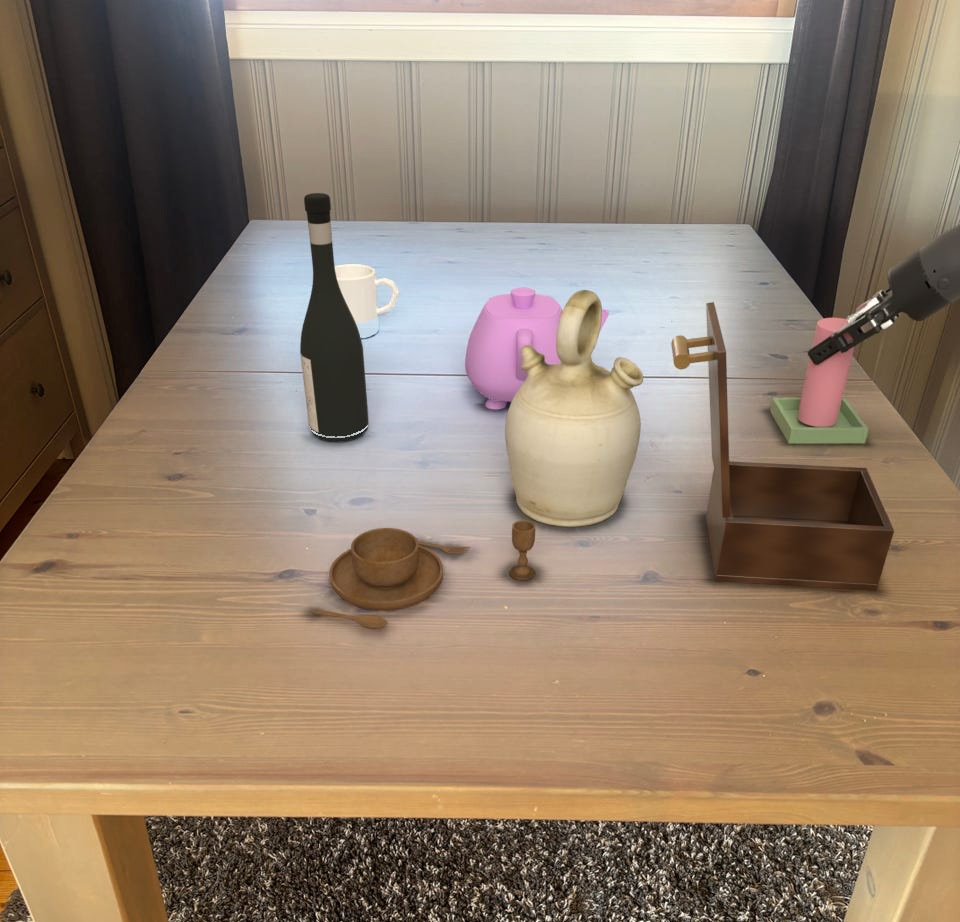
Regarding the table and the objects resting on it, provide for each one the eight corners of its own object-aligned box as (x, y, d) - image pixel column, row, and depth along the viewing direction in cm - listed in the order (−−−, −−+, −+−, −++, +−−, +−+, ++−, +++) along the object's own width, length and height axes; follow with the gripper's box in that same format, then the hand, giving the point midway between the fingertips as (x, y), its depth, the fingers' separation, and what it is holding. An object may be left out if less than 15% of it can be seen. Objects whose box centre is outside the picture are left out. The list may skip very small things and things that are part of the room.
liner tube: (814, 430, 130) (835, 334, 122) (789, 414, 133) (808, 320, 126) (845, 423, 131) (868, 328, 123) (819, 408, 135) (840, 315, 127)
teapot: (611, 428, 133) (620, 318, 124) (464, 428, 133) (463, 319, 124) (596, 372, 149) (603, 271, 139) (465, 372, 148) (464, 271, 139)
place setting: (374, 532, 111) (371, 486, 107) (540, 567, 105) (542, 519, 102) (297, 615, 98) (290, 566, 94) (481, 660, 92) (481, 610, 89)
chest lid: (714, 301, 99) (668, 308, 100) (726, 350, 88) (674, 357, 89) (719, 456, 109) (677, 460, 110) (730, 517, 98) (684, 521, 99)
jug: (658, 502, 116) (685, 291, 101) (573, 550, 108) (588, 327, 93) (563, 460, 125) (574, 260, 110) (477, 501, 117) (476, 290, 101)
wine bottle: (302, 442, 129) (272, 202, 111) (319, 417, 136) (294, 186, 117) (361, 447, 128) (340, 204, 110) (375, 421, 135) (358, 188, 116)
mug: (396, 342, 159) (393, 281, 153) (325, 338, 160) (319, 277, 154) (406, 325, 165) (403, 265, 159) (337, 322, 166) (332, 262, 160)
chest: (851, 524, 112) (866, 467, 108) (876, 590, 102) (894, 530, 97) (705, 516, 114) (714, 460, 109) (715, 581, 103) (725, 521, 99)
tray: (842, 411, 137) (845, 397, 136) (865, 443, 129) (869, 428, 128) (769, 411, 137) (772, 397, 136) (788, 443, 129) (791, 429, 128)
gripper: (935, 231, 120) (817, 311, 132) (909, 261, 110) (785, 344, 122) (967, 282, 121) (847, 357, 133) (945, 316, 111) (818, 393, 123)
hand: (818, 351), depth 128 cm, fingers closed on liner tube, 5 cm apart
